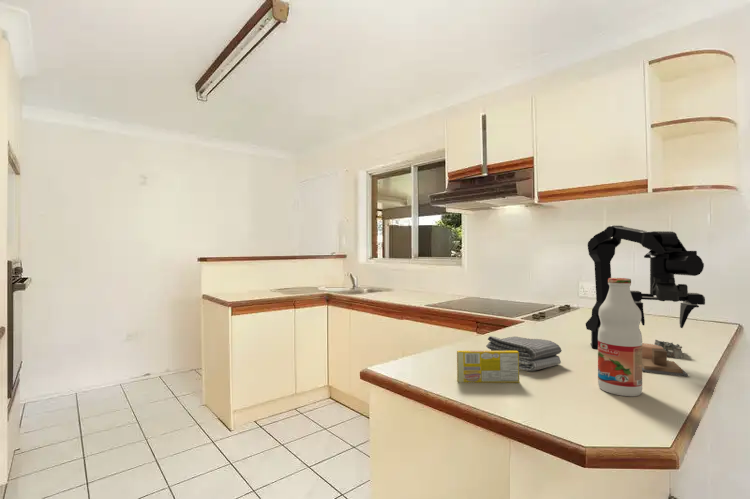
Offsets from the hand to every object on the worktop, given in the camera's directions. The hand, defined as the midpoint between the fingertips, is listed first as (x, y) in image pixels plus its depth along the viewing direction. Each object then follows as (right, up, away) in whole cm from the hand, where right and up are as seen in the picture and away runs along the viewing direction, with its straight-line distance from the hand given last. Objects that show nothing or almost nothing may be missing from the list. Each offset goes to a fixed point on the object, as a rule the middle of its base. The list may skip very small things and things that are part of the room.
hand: (662, 326), depth 114 cm
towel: (-39, -13, +7) cm, 42 cm away
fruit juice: (-24, -13, -17) cm, 32 cm away
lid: (-1, -12, 0) cm, 12 cm away
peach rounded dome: (+4, -13, +11) cm, 17 cm away
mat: (-1, -13, 0) cm, 13 cm away
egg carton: (+15, -13, +17) cm, 26 cm away
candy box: (-55, -13, -11) cm, 57 cm away
